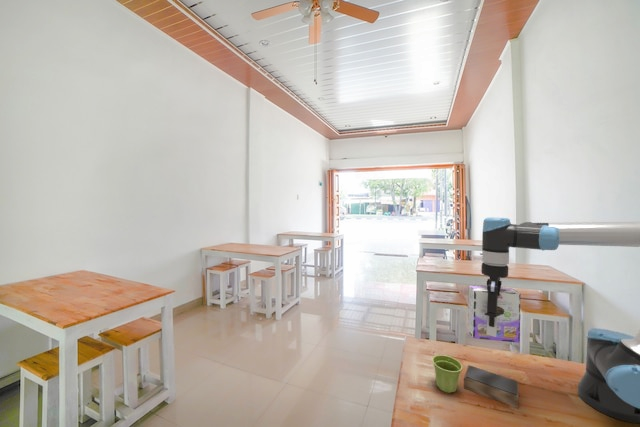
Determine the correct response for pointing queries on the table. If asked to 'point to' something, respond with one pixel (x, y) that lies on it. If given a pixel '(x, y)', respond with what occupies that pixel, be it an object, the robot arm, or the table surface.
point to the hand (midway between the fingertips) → (492, 330)
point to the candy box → (505, 314)
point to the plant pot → (447, 372)
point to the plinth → (492, 385)
